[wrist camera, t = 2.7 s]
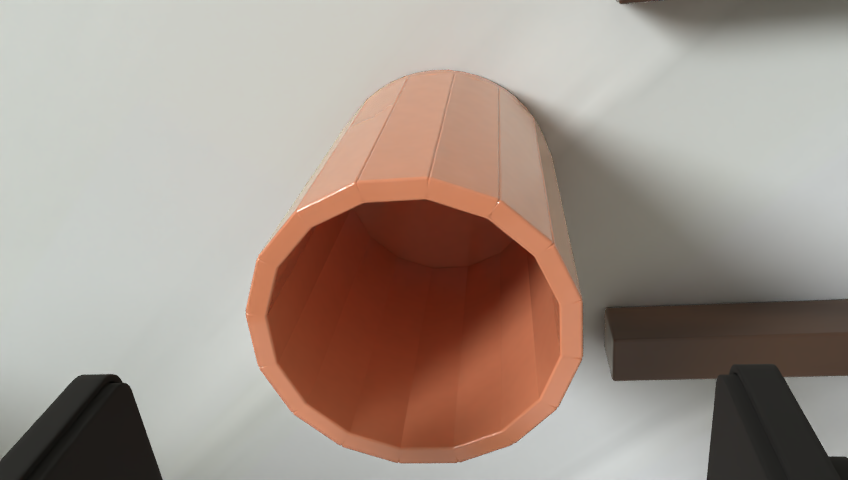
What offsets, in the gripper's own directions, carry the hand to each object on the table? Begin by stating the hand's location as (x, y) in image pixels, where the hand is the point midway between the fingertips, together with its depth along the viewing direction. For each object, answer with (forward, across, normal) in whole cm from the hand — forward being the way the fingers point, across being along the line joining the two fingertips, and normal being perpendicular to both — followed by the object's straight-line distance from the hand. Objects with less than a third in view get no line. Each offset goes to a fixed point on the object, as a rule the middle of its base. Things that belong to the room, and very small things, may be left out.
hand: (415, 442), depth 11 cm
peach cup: (+12, +1, 0) cm, 12 cm away
